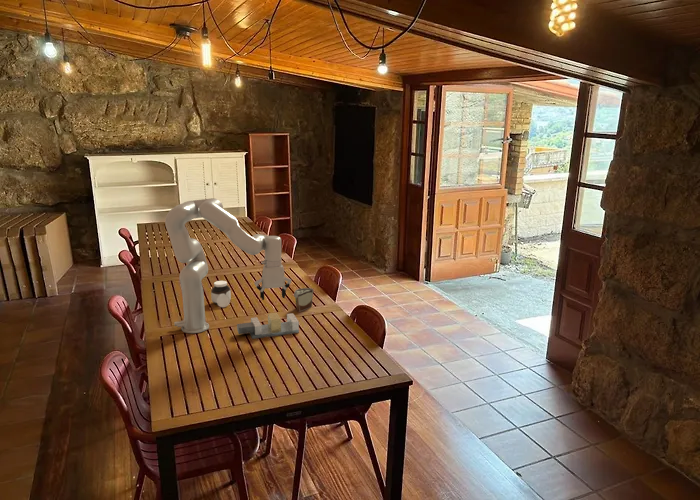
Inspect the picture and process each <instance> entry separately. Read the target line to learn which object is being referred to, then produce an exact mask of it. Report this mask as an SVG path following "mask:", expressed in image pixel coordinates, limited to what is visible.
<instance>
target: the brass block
mask: <svg viewBox="0 0 700 500" xmlns="http://www.w3.org/2000/svg"><path fill="white" fill-rule="evenodd" d="M281 323H282V319H281V317H280V315H279V314H278V312H272V313H271V312H270V313H267V324H268V326H269V328H270V330H271V332H275V331H281Z"/></svg>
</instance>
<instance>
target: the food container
mask: <svg viewBox="0 0 700 500" xmlns="http://www.w3.org/2000/svg"><path fill="white" fill-rule="evenodd" d="M293 296H294V298H295V307H296V308H295V309H296V311H297V312H299V313H300V312H303V311H305V310H308V309H310V308H313V307H312V306H313V296H314V288H310V287H303V288H302V287H301V288H298V289H295V291H294V293H293Z"/></svg>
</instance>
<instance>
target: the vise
mask: <svg viewBox="0 0 700 500" xmlns="http://www.w3.org/2000/svg"><path fill="white" fill-rule="evenodd" d="M299 321H300V320H299V319H297V317H296V315H295V314H294V313H291V312H290V313H286V321H285V322H284V321H283V322H282V321H281V331H275V332H271V330H270V328H269V326H268V323H266V324H261V326H262V334H258V335H255V333H254V332H253V333H249V335H250V338H251V339H252V340H255V339H262V338H269V337H278V336H284V335H291V334H299V333H300V328H299V327H300V323H299Z"/></svg>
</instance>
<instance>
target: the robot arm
mask: <svg viewBox="0 0 700 500" xmlns="http://www.w3.org/2000/svg"><path fill="white" fill-rule="evenodd" d="M199 218H203V219H204V220H206V221H207V222H208V223H210V224H211V225H213V226H214V227H216V228H217V229H218V230H220V231H221V232H223V233H224V234H225V235H226V237H227V238H228V239H229V240H230V241H231V242H232V244H234V245H235V246H236V247H237V248H239V249H240V250H241V251H244V252H245V253H246V254H248V255H252V256H255V255H258V254H260V253H261V252H262V251H264V260H263V261H261V265H263V266H262V267H263V268H262V271H261V273H262V274H261V278H259V279H257V280H256V281H254V285H255V287H256V289H257V290H258V291H259V296H260V297H259V298H260V299H262V301H265V290H266V289H276V288H277V289H278V288H281V297H282V299H285V298H286V295H287V289H288V288H289V287H290V285H291V283H292V278H288V277H286V276H285V269H284V265H283V264H282V237H280V236H278V235H265V234H259V233H256V234H253V235H252V236H251V235H250V234H248V233H247V232H246V231H245V230H243V229H242V227H241V226H240V224H239V221H238V219H237V218H236V217H235V216H234V215H233V214H231V213H230V212H228V211H227V210H225V209H224V206H223V203H222V202H221V201H220V199H217V198H204V199H203V198H202V199H195V200H193V199H192V200H188V201H185V202H182V203H180V204H177V205H175V206H173V208H171V209H170V210H168V213H167V214H166V216H165V218H164V219H165V220H164V224H165V228H166V231H167V233H168V237H169V240H170V243H171V247H172V250H173V252H174V256H175V258H176V260H177V261H178V262H179V263H181V264H186V265H185V266H184V267H182V269H181V270H180V273H179V277H178V278H179V282H180V283H179V284H180V287H181V296H182V307H183V319H182V320H181V321H174V322H173V323H174V324H173V325H174V327H177V328H180V327H181V331H182V332H183V333H185V334H199V333H203V332H205V331H207V330H208V329H209V328H210V325H209V323H208V322H207V321H206V312H205V294H204V287H203V283H202V280H203V279H204V278H205V277H206V276H207V274H208V272H209V265H208V261H207V259H206V255H205V252H204V249H203V246H202V244H201V243H200V241H199V240H198V239H196V238H192V237H191V236H190V232H189V230H188V228H187V227H186V224H187V223H188V222H190V221H192V220H195V219H199ZM285 283H286V284H285ZM260 284H261V286H260Z"/></svg>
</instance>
